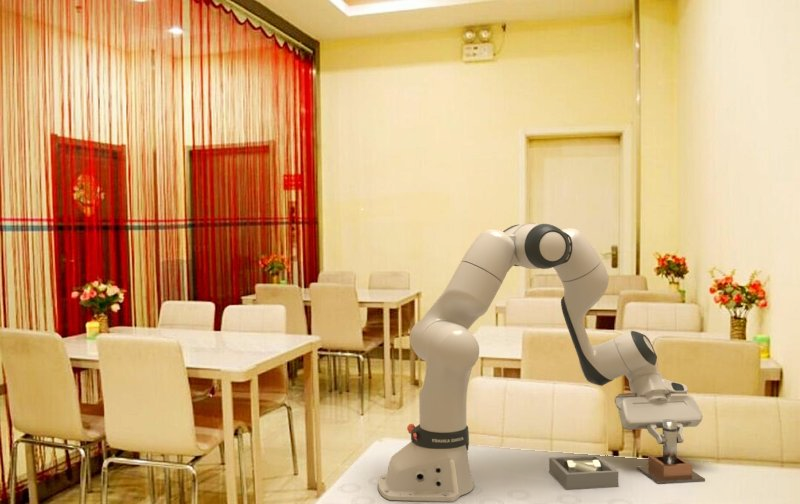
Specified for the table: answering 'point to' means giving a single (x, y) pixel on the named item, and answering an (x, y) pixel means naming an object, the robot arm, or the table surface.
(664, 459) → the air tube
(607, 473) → the parts corral
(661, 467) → the collar
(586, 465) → the pipe fitting
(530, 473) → the table surface
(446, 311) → the robot arm
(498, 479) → the table surface
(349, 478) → the table surface
